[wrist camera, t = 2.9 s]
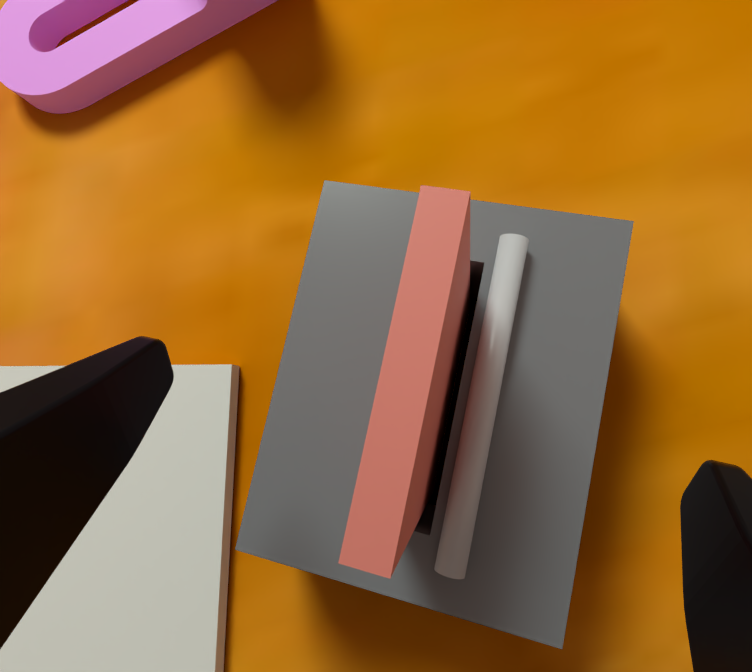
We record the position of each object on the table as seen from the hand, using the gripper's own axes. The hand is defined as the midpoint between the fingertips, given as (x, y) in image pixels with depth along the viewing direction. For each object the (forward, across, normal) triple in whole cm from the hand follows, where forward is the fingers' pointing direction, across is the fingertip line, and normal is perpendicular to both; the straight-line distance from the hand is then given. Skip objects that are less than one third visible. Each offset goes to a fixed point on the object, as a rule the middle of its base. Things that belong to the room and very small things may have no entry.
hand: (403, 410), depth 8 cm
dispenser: (+6, 0, +5) cm, 8 cm away
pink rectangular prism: (+6, 0, +6) cm, 8 cm away
